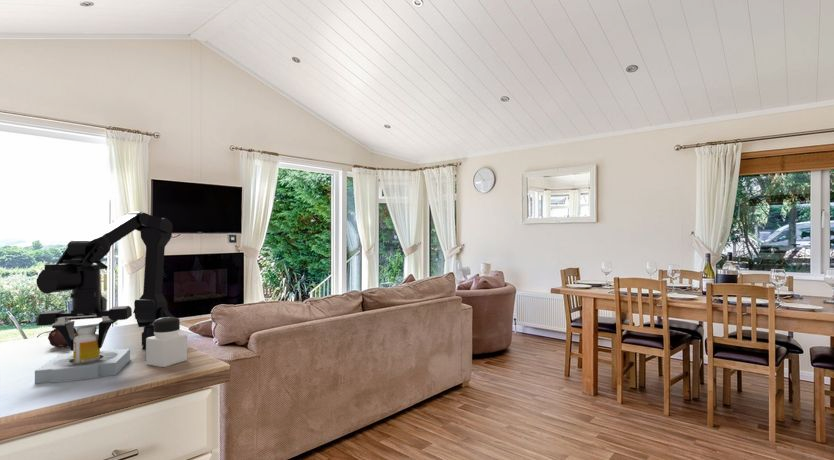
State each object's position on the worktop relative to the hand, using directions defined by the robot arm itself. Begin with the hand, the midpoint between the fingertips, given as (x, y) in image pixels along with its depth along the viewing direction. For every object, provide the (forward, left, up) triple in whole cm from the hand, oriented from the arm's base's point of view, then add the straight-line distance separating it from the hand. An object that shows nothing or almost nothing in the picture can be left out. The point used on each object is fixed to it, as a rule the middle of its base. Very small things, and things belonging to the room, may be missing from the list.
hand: (86, 349), depth 111 cm
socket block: (0, 0, -5) cm, 5 cm away
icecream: (+15, -32, -6) cm, 35 cm away
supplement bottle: (0, 0, -4) cm, 4 cm away
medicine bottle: (-18, 0, -6) cm, 19 cm away
